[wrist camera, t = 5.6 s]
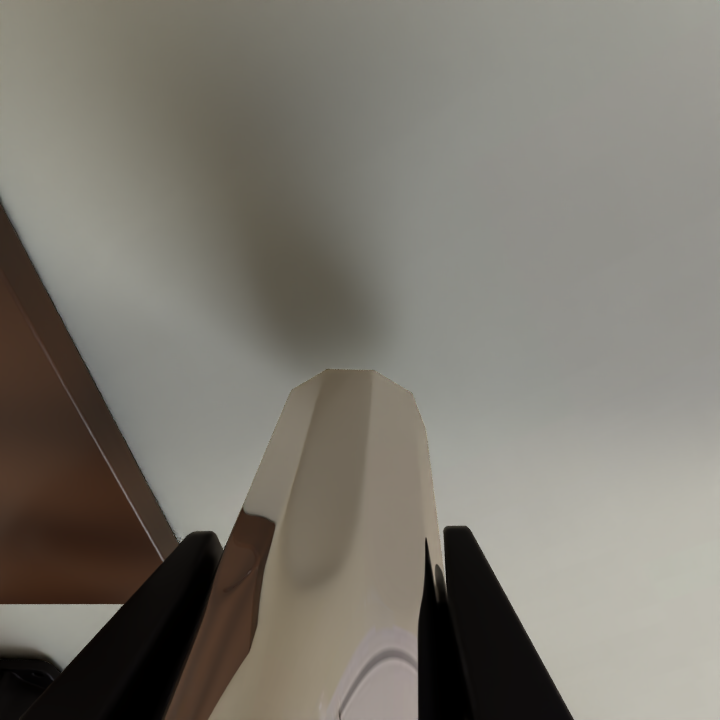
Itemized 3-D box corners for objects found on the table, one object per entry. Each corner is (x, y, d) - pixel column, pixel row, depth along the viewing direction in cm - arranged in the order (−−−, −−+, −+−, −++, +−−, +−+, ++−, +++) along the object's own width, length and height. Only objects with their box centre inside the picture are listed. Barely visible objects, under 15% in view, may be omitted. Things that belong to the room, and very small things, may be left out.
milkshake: (410, 279, 10) (387, 1437, 2) (474, 471, 13) (568, 1287, 5) (202, 337, 11) (-317, 1226, 3) (301, 502, 14) (152, 1202, 6)
